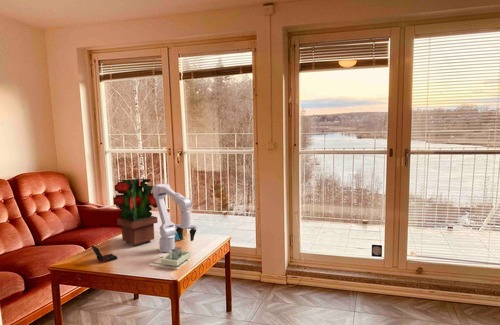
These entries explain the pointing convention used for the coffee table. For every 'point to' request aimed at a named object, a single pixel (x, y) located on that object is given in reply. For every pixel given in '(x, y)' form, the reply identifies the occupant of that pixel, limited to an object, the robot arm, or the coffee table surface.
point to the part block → (176, 253)
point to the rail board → (158, 264)
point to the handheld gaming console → (103, 258)
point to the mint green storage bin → (170, 261)
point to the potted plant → (135, 211)
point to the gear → (177, 237)
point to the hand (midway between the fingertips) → (186, 240)
